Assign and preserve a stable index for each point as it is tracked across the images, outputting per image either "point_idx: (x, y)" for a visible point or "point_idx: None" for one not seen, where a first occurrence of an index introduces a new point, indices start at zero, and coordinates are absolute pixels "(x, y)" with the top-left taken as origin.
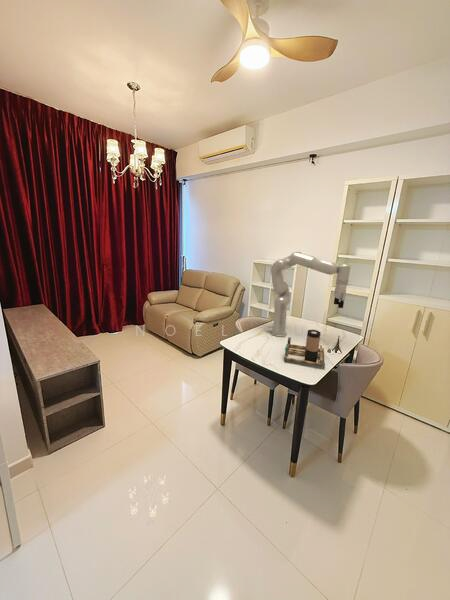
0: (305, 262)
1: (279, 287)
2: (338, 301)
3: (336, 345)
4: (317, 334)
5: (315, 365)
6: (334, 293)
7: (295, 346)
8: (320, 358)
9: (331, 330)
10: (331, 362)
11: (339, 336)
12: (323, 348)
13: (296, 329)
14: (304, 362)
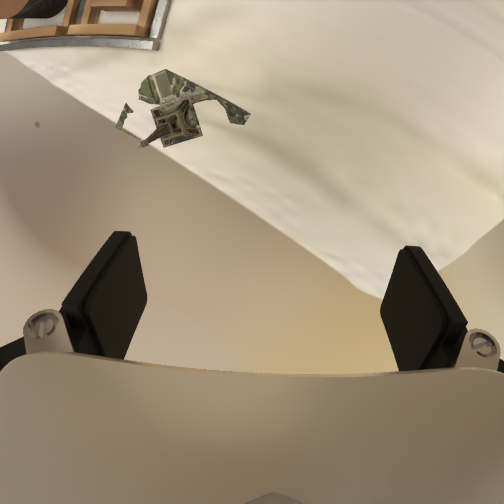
0: None
1: None
2: (396, 347)
3: (166, 122)
4: None
5: (8, 19)
6: (498, 467)
7: None
8: (5, 32)
9: (471, 207)
10: (59, 77)
11: (142, 145)
12: (151, 47)
13: (479, 11)
14: None
